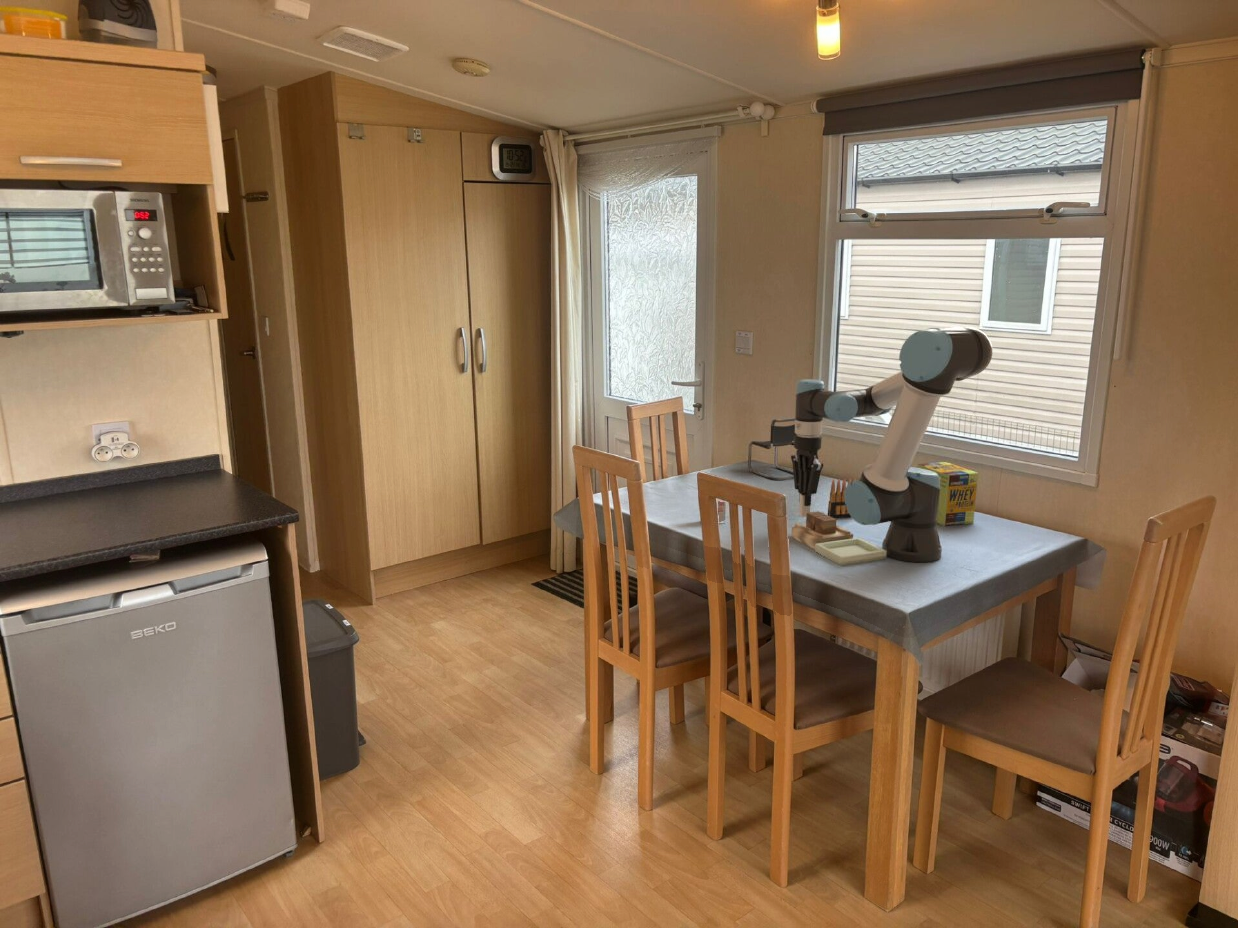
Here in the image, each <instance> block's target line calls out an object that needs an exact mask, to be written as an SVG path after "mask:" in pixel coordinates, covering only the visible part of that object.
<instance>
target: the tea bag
mask: <svg viewBox="0 0 1238 928" xmlns="http://www.w3.org/2000/svg"><path fill="white" fill-rule="evenodd" d="M718 515H719V522H721V521H724V520H725V521H726V501H725V502H720V501H718Z"/></svg>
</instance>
